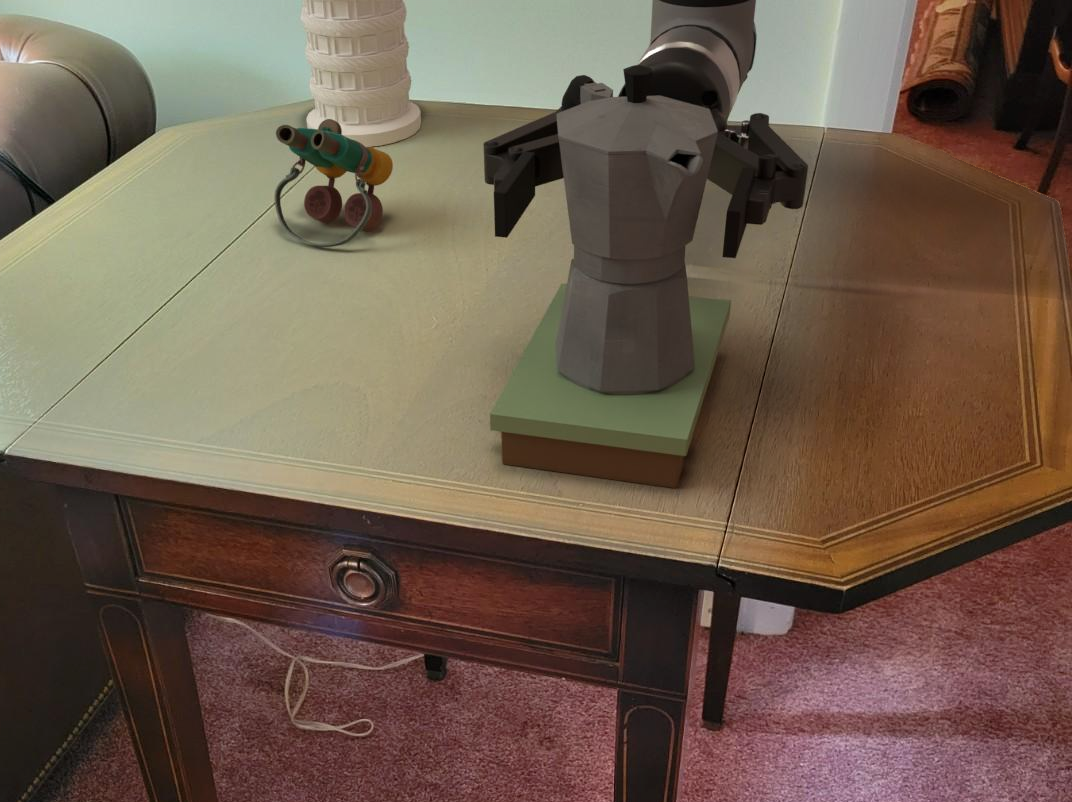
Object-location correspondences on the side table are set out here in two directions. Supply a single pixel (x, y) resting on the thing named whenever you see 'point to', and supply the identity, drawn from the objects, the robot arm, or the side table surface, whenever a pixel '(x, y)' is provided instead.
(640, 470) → the box with lid
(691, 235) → the coffeepot
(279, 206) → the binoculars
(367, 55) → the decorative container
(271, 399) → the side table surface
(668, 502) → the side table surface
